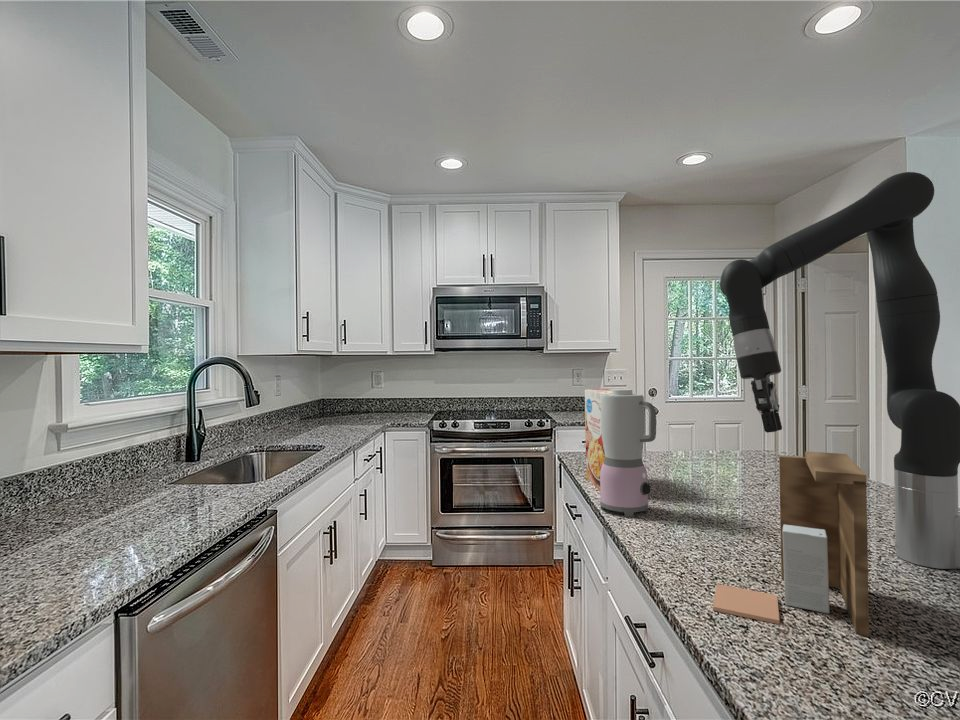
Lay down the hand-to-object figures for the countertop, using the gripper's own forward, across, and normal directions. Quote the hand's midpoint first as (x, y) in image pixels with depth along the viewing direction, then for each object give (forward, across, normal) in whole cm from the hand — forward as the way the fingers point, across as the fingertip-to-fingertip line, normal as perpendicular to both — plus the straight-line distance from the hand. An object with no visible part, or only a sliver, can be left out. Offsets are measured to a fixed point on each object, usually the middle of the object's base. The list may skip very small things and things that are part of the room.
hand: (774, 431), depth 100 cm
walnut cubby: (+27, -18, -2) cm, 33 cm away
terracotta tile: (+26, -24, +7) cm, 36 cm away
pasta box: (+12, +35, +53) cm, 65 cm away
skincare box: (+28, -19, -1) cm, 33 cm away
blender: (+17, +14, +38) cm, 44 cm away
